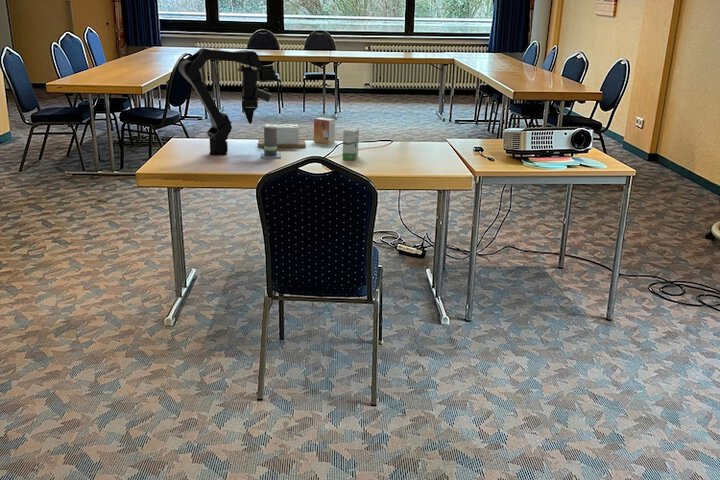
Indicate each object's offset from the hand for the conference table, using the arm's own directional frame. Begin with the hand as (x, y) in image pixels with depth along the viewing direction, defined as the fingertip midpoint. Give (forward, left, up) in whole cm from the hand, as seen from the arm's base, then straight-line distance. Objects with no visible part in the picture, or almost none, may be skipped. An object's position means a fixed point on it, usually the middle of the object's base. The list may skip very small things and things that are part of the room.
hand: (250, 121), depth 283 cm
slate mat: (+8, -11, -12) cm, 18 cm away
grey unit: (+13, +11, -12) cm, 21 cm away
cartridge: (+8, -11, -11) cm, 18 cm away
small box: (+32, +19, -12) cm, 39 cm away
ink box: (+40, -13, -12) cm, 44 cm away
